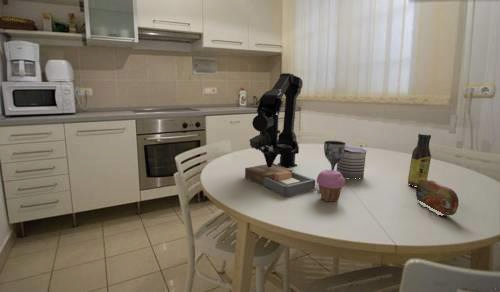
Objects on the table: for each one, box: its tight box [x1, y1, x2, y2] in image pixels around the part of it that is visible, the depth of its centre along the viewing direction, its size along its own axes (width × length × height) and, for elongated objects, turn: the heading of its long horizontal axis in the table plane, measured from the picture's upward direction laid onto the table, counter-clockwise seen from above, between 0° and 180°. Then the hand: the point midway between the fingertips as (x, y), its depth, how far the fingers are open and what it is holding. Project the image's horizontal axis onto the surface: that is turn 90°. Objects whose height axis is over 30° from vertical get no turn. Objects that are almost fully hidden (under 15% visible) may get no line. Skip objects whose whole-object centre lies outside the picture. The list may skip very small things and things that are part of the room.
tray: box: [262, 171, 316, 198], centre depth 106 cm, size 14×12×4 cm
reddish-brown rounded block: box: [415, 179, 459, 216], centre depth 89 cm, size 15×3×8 cm, turn 5°
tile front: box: [279, 178, 300, 186], centre depth 105 cm, size 6×4×2 cm
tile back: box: [274, 171, 293, 183], centre depth 108 cm, size 6×4×2 cm
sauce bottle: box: [407, 133, 432, 186], centre depth 109 cm, size 6×6×20 cm
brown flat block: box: [244, 163, 293, 187], centre depth 116 cm, size 14×12×4 cm
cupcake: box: [316, 169, 346, 202], centre depth 96 cm, size 9×9×10 cm
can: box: [335, 144, 368, 180], centre depth 121 cm, size 11×11×12 cm
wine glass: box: [323, 140, 347, 170], centre depth 115 cm, size 8×8×15 cm
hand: (269, 167), depth 115 cm, fingers closed
